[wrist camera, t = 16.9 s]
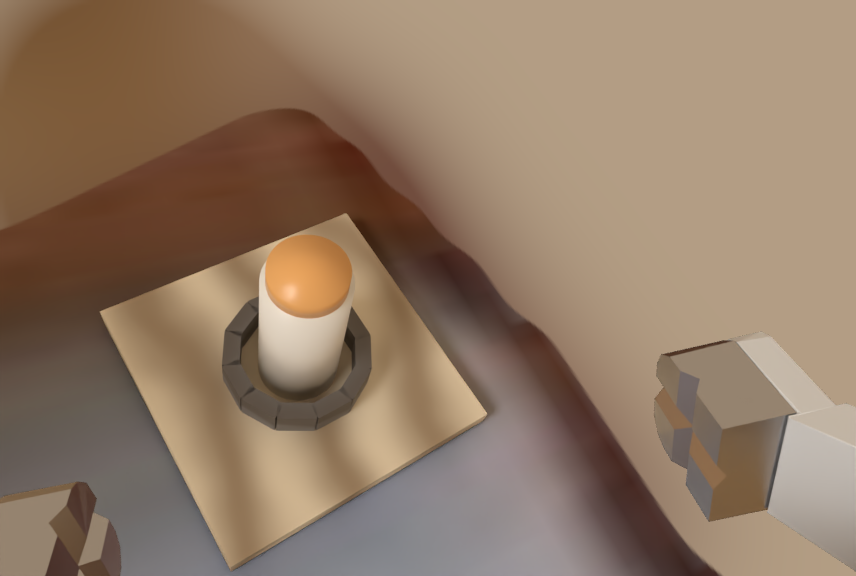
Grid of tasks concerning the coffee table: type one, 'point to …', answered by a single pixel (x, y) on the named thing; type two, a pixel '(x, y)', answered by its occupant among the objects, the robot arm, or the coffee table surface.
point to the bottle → (303, 315)
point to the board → (278, 417)
